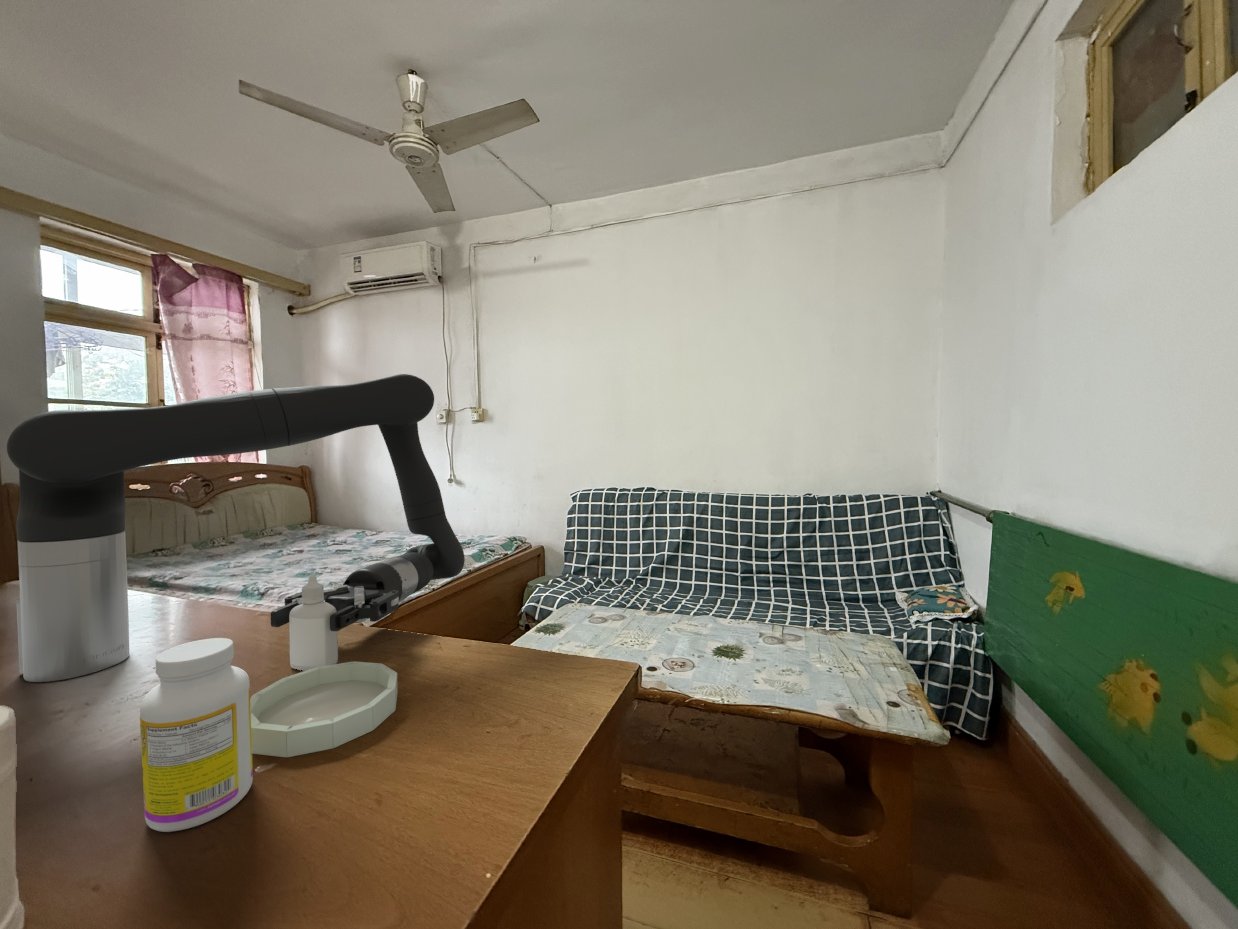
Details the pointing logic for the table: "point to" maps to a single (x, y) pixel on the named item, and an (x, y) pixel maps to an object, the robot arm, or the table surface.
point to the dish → (321, 708)
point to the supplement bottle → (195, 736)
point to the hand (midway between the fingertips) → (302, 621)
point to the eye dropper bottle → (312, 630)
